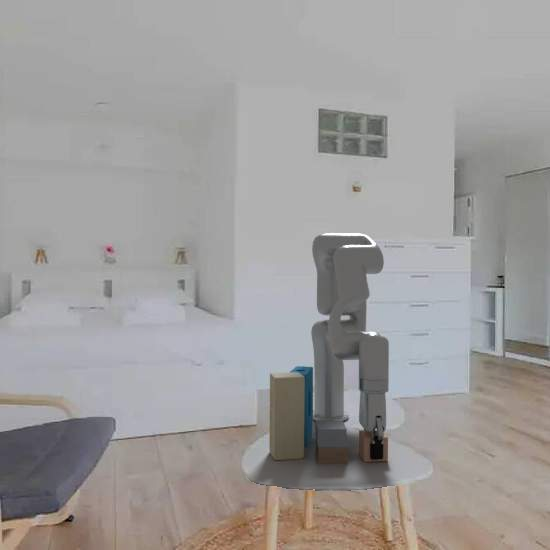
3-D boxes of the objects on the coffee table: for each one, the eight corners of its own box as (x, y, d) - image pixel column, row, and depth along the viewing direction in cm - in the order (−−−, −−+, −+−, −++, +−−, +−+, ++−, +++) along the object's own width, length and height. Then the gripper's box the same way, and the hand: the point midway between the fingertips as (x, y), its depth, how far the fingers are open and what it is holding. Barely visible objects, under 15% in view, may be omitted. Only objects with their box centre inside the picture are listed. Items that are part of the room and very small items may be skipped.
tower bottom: (315, 455, 140) (315, 438, 140) (342, 454, 140) (342, 437, 140) (319, 465, 133) (319, 447, 133) (347, 464, 133) (347, 446, 133)
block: (305, 449, 144) (305, 375, 144) (287, 448, 145) (287, 374, 145) (313, 435, 156) (313, 366, 155) (296, 434, 157) (296, 366, 156)
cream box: (297, 448, 145) (297, 371, 144) (305, 458, 137) (305, 376, 137) (268, 451, 143) (268, 372, 142) (274, 461, 136) (274, 378, 135)
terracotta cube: (358, 453, 141) (359, 430, 141) (381, 452, 141) (381, 429, 141) (364, 461, 135) (364, 437, 135) (387, 461, 135) (388, 437, 135)
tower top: (315, 438, 140) (315, 420, 140) (342, 437, 140) (342, 420, 140) (318, 447, 133) (318, 429, 133) (346, 447, 133) (346, 429, 133)
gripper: (351, 377, 146) (351, 443, 146) (367, 393, 129) (367, 467, 129) (378, 376, 146) (378, 442, 147) (398, 392, 129) (397, 466, 130)
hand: (373, 453), depth 138 cm, fingers closed on terracotta cube, 6 cm apart
